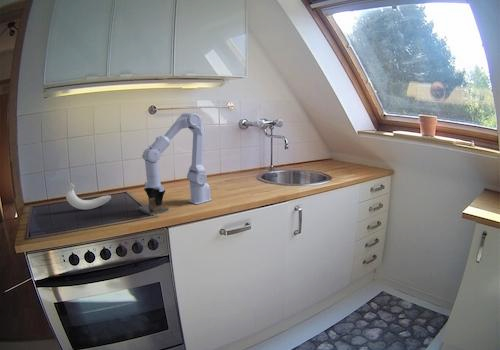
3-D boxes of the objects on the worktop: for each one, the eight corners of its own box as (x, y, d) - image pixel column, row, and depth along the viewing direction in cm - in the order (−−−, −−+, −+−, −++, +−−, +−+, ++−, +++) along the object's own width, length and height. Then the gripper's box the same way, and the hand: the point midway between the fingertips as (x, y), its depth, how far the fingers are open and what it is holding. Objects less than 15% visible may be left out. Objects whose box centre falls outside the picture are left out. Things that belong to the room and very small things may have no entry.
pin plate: (156, 205, 160) (155, 196, 159) (168, 210, 152) (167, 201, 151) (138, 209, 154) (137, 200, 153) (150, 215, 146) (149, 206, 145)
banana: (112, 206, 160) (108, 177, 157) (69, 214, 151) (64, 184, 147) (110, 203, 164) (107, 175, 161) (68, 211, 155) (63, 182, 151)
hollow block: (158, 206, 154) (157, 196, 153) (163, 208, 150) (162, 198, 149) (149, 209, 151) (148, 198, 150) (154, 211, 147) (153, 200, 146)
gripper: (137, 174, 149) (140, 202, 153) (152, 179, 139) (155, 209, 142) (151, 171, 154) (154, 199, 157) (167, 176, 144) (169, 205, 147)
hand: (155, 203), depth 150 cm, fingers open, 6 cm apart
